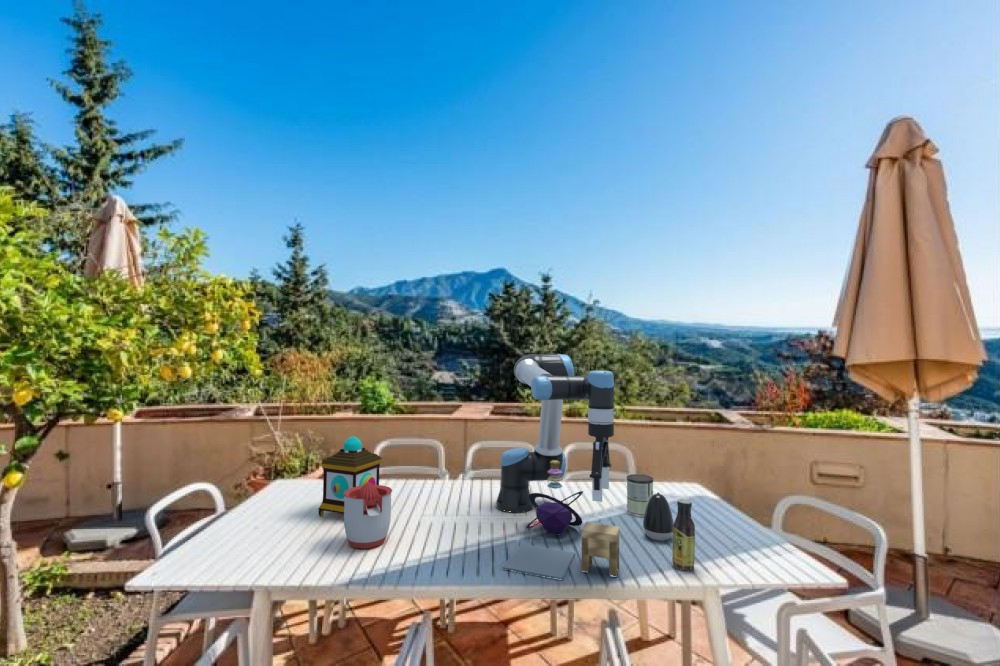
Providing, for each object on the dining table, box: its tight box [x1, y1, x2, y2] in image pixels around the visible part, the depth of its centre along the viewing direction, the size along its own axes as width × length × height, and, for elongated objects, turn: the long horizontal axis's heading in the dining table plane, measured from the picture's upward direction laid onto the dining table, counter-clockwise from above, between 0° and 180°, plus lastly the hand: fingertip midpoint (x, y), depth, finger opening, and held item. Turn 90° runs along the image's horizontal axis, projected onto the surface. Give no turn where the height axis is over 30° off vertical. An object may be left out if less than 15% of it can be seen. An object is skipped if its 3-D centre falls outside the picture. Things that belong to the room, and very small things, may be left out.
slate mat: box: [501, 543, 576, 580], centre depth 144 cm, size 18×18×1 cm
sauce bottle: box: [671, 498, 696, 571], centre depth 142 cm, size 6×6×20 cm
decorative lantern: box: [318, 436, 383, 518], centre depth 186 cm, size 20×20×30 cm
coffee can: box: [626, 473, 654, 518], centre depth 191 cm, size 10×10×14 cm
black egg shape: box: [642, 491, 674, 542], centre depth 164 cm, size 10×10×15 cm
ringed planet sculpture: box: [524, 460, 584, 535], centre depth 170 cm, size 22×21×25 cm
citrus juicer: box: [343, 482, 393, 549], centre depth 157 cm, size 16×17×20 cm
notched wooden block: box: [581, 521, 620, 577], centre depth 140 cm, size 10×7×12 cm
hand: (600, 494), depth 140 cm, fingers open, 13 cm apart
